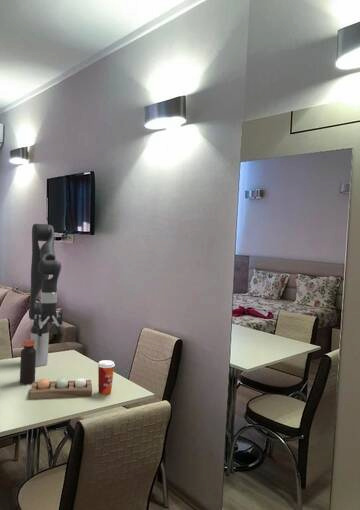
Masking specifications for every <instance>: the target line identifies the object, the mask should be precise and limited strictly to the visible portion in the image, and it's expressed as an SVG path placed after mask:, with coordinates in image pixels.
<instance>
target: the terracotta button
mask: <svg viewBox="0 0 360 510" xmlns="http://www.w3.org/2000/svg"><path fill="white" fill-rule="evenodd" d="M49 381H50V380H49V379H47V378H42V379H38V381H37V382H38V389H49Z"/></svg>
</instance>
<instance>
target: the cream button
mask: <svg viewBox="0 0 360 510" xmlns="http://www.w3.org/2000/svg"><path fill="white" fill-rule="evenodd" d="M86 380H87V379H86V378H84V377H77V378H75V380H74V381H75V388H85V387H86Z"/></svg>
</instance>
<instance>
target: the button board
mask: <svg viewBox="0 0 360 510" xmlns="http://www.w3.org/2000/svg"><path fill="white" fill-rule="evenodd" d="M56 387H57V380H51V381H50V380H49V389H38V381H35V382H33V383H32V384H31V388H30V391H29V400H36V399H37V400H38V399H39V400H40V398H41V400H42V398H43V399H59V398H60V399H61V398H62V399H63V398H64V399H65V397H67V398H85V397H88V398H89V397H93V386H92V379H86V387H85V388H75V380H68V388H58V389H56Z"/></svg>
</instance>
